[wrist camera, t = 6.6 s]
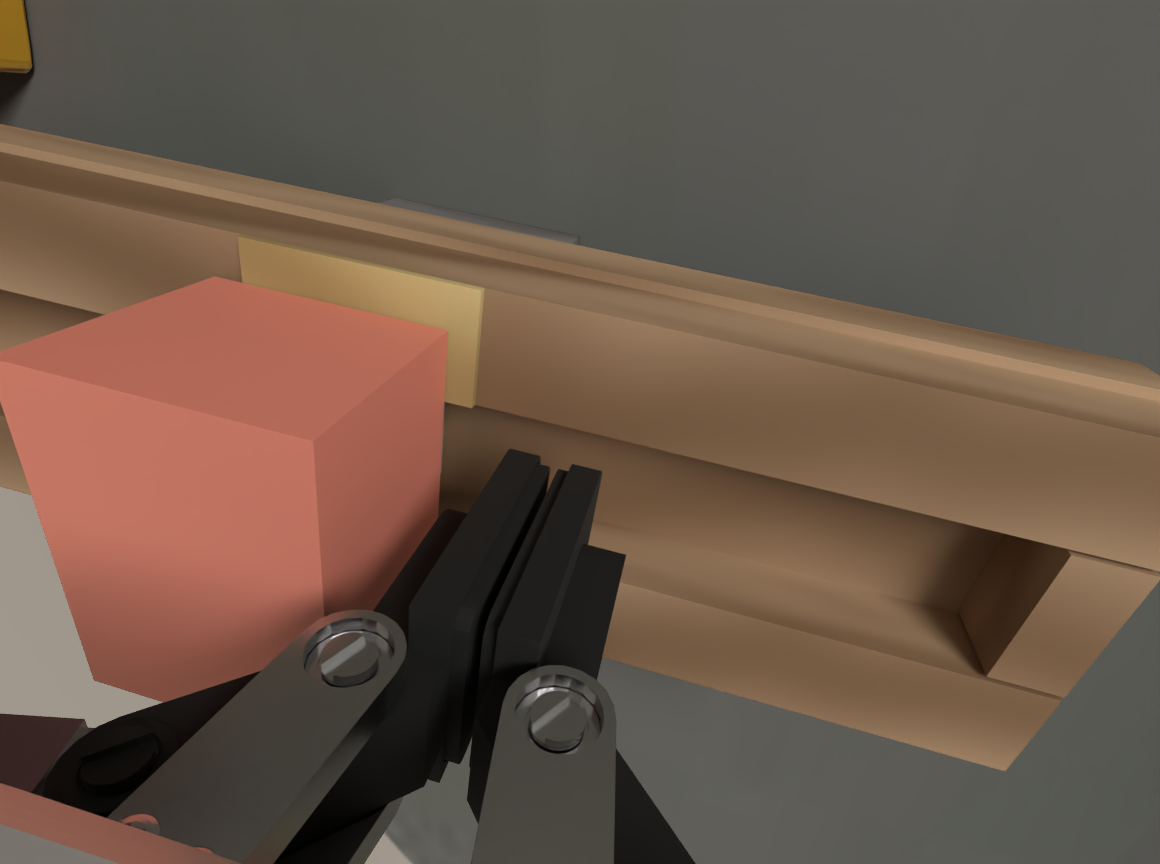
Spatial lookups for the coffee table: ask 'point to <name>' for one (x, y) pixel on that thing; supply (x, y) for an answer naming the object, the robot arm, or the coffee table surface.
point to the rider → (225, 472)
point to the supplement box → (14, 38)
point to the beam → (692, 436)
